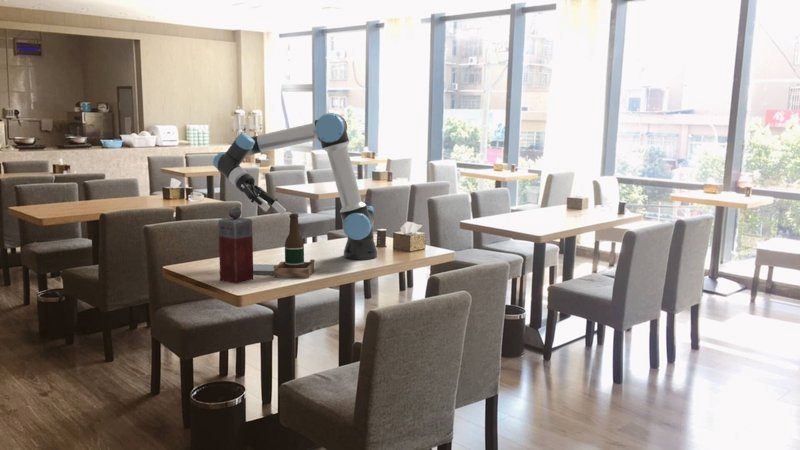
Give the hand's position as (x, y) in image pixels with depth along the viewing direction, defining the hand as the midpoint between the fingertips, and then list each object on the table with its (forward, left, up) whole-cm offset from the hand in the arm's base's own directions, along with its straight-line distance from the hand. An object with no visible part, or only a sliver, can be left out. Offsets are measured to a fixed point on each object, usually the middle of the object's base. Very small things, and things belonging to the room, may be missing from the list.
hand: (276, 211), depth 279 cm
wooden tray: (-10, +12, -23) cm, 28 cm away
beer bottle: (-10, +12, -24) cm, 28 cm away
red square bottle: (+11, +23, -24) cm, 35 cm away
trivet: (+3, +8, -23) cm, 25 cm away
